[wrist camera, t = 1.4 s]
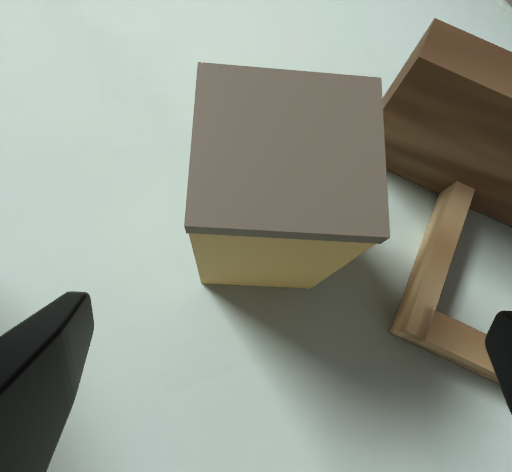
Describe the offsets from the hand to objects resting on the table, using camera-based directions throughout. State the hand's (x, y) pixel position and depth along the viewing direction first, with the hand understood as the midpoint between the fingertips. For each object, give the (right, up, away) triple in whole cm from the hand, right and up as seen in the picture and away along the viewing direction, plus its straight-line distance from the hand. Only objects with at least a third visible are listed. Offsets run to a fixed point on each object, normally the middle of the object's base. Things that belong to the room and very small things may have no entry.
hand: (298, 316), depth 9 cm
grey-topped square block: (-1, +2, +12) cm, 13 cm away
